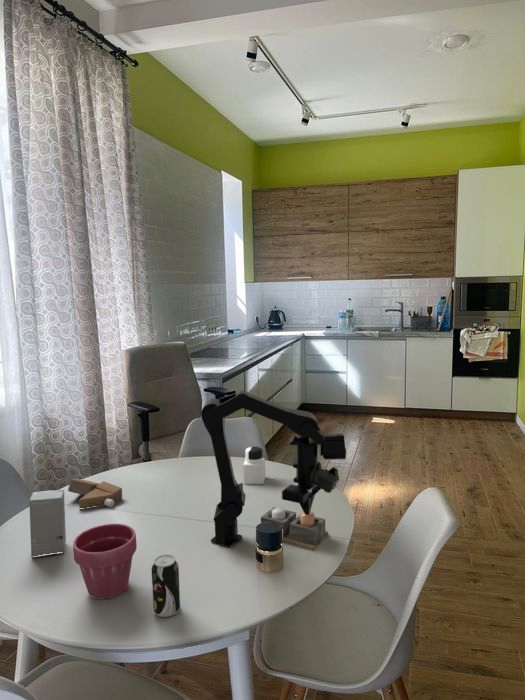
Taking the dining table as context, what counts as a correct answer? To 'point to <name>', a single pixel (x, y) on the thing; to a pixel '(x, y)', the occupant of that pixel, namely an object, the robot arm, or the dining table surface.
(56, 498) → the skincare box
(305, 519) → the terracotta plunger
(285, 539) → the double box holder
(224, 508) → the robot arm
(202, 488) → the dining table surface
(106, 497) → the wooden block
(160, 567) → the beverage can
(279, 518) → the white short rounded cylinder
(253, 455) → the medicine bottle
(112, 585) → the plant pot
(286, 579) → the dining table surface
